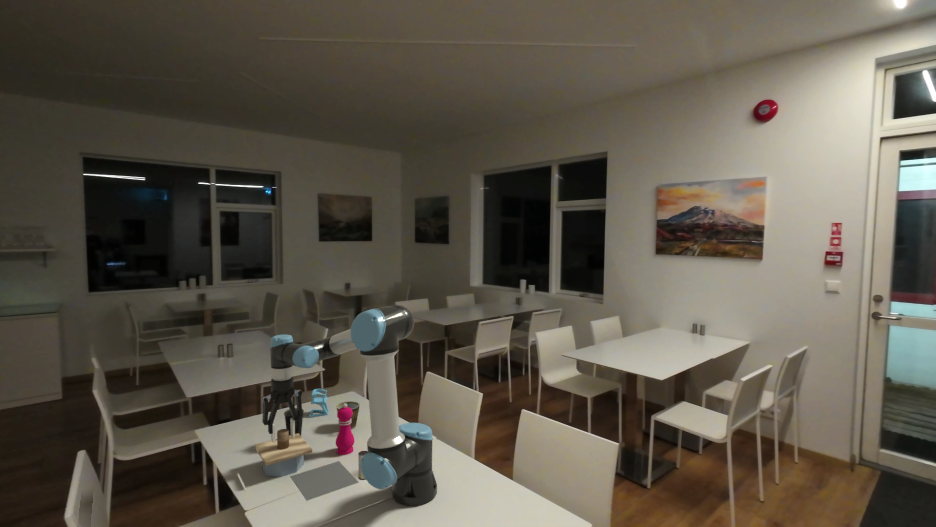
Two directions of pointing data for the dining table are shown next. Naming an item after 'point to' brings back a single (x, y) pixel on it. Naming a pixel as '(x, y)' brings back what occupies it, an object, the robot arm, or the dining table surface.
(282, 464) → the bowl
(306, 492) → the mat
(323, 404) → the chair
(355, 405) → the ceramic cup
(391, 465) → the robot arm
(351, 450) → the pepper mill
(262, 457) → the lid
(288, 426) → the drinking cup
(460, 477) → the dining table surface
